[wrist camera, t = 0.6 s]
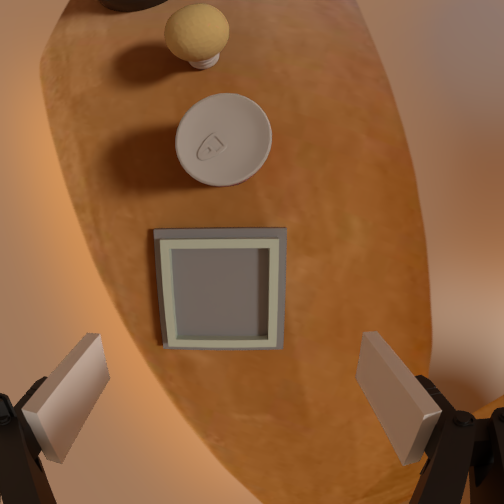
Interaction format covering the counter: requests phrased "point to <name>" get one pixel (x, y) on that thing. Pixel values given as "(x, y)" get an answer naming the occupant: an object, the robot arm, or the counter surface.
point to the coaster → (221, 287)
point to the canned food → (223, 140)
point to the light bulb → (197, 34)
